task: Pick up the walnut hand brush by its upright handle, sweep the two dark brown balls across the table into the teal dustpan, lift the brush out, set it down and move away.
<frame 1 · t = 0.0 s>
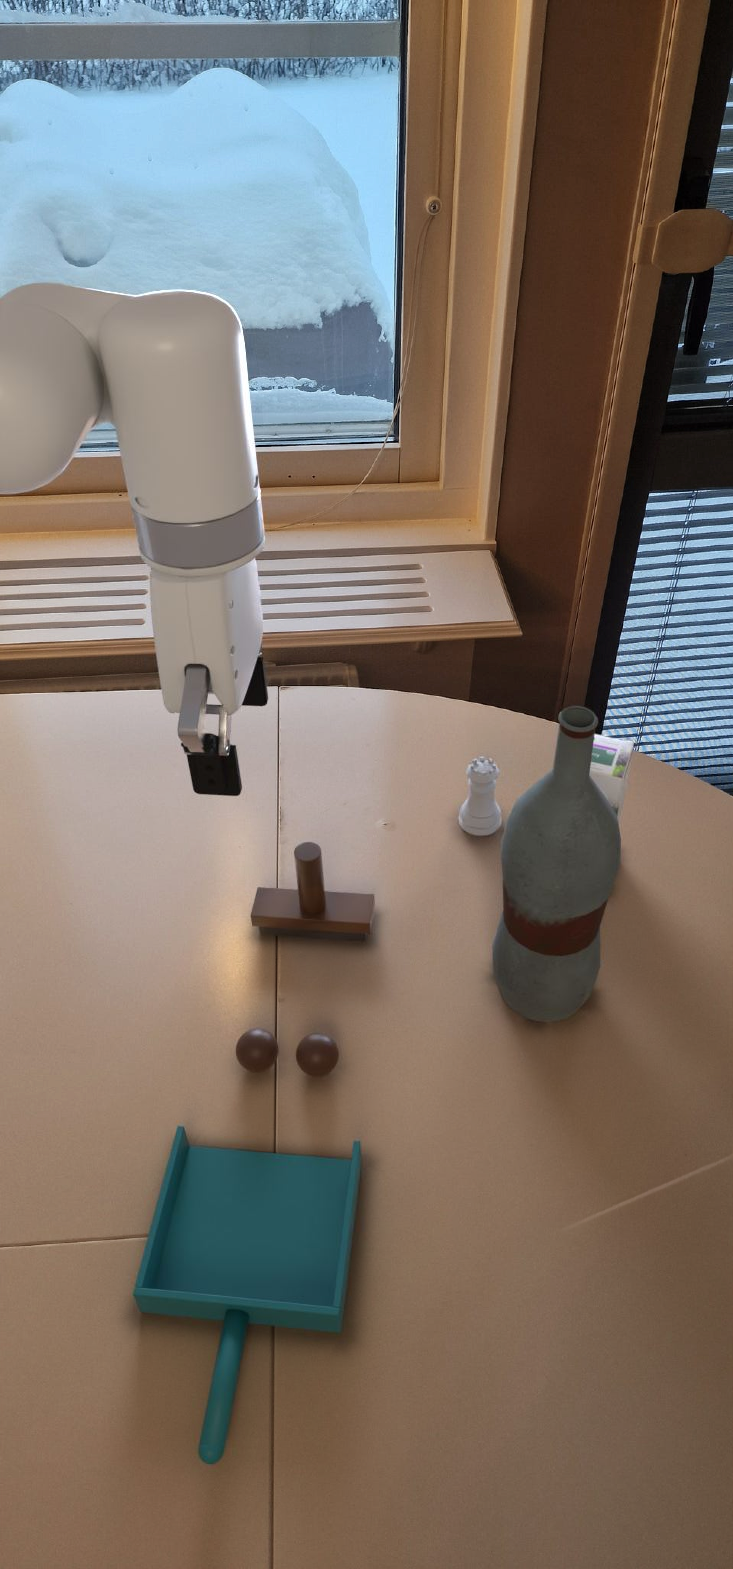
hand: (233, 745, 73), 28 cm above the table, tool pointing down, fingers open, 9 cm apart
bottle: (541, 985, 91), on the table
ball right: (317, 1054, 85), point 2 cm above the table
dustpan: (257, 1229, 76), on the table
syrup box: (580, 865, 102), on the table
ball left: (257, 1049, 85), point 2 cm above the table
rook chess piece: (479, 824, 107), on the table
brush: (314, 925, 97), on the table
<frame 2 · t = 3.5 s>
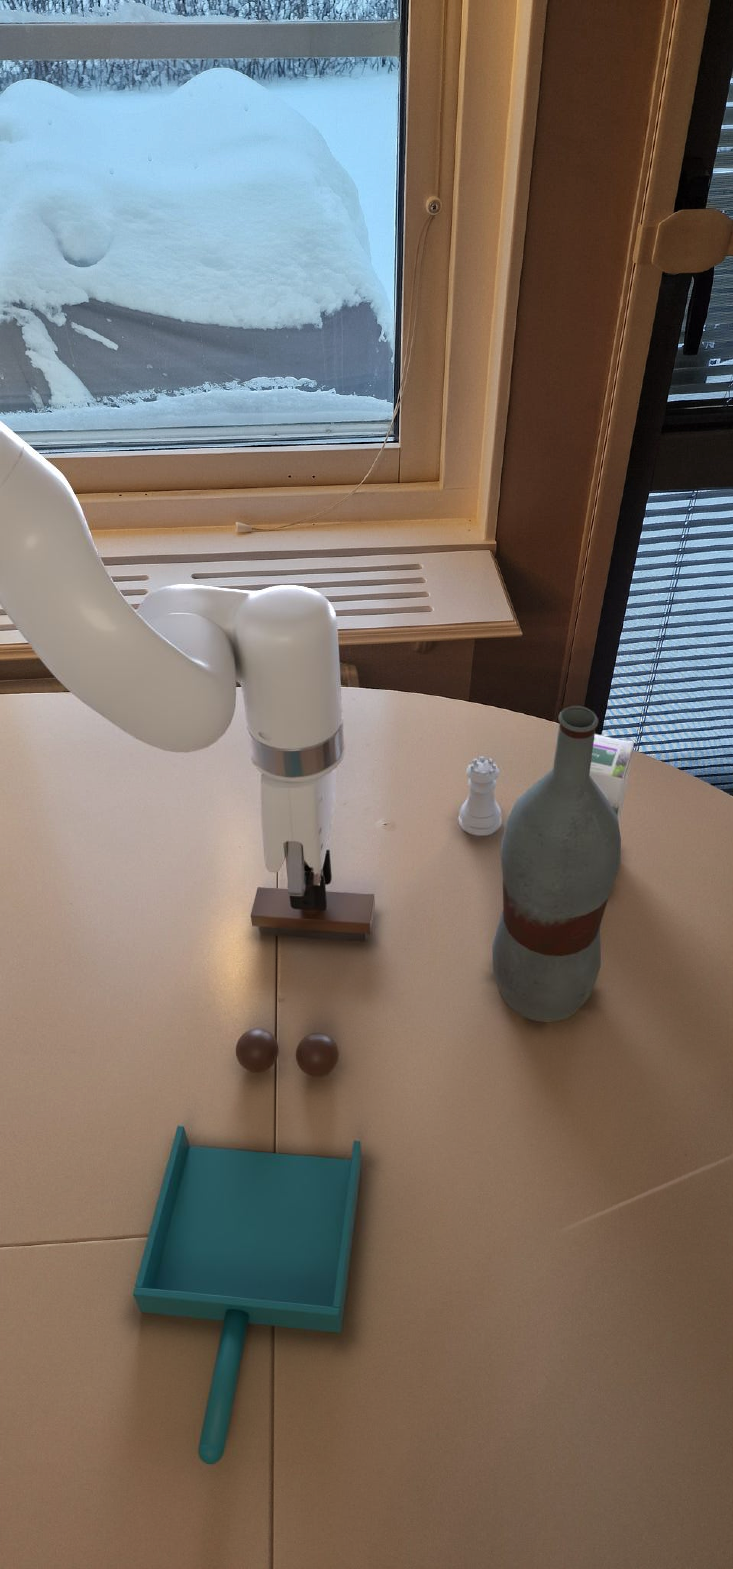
hand: (311, 893, 94), 5 cm above the table, tool pointing down, fingers closed on brush, 2 cm apart
brush: (314, 925, 97), on the table, touching gripper
everything else where it was.
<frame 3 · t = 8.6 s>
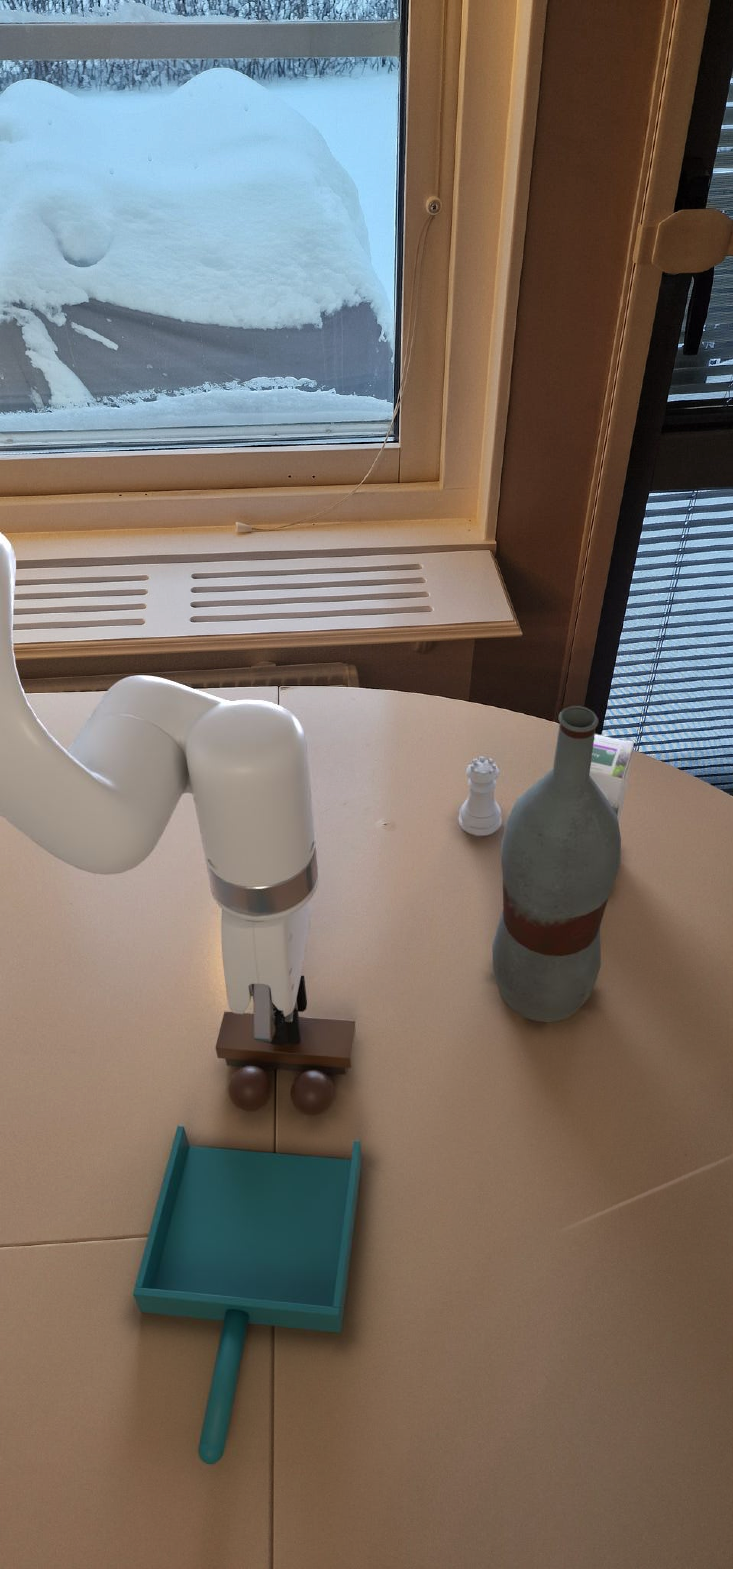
hand: (284, 1022, 83), 5 cm above the table, tool pointing down, fingers closed on brush, 2 cm apart
ball right: (312, 1092, 82), point 2 cm above the table, tilted 115°
ball left: (250, 1088, 82), point 2 cm above the table, tilted 116°
brush: (288, 1054, 86), on the table, touching gripper
everything else where it was.
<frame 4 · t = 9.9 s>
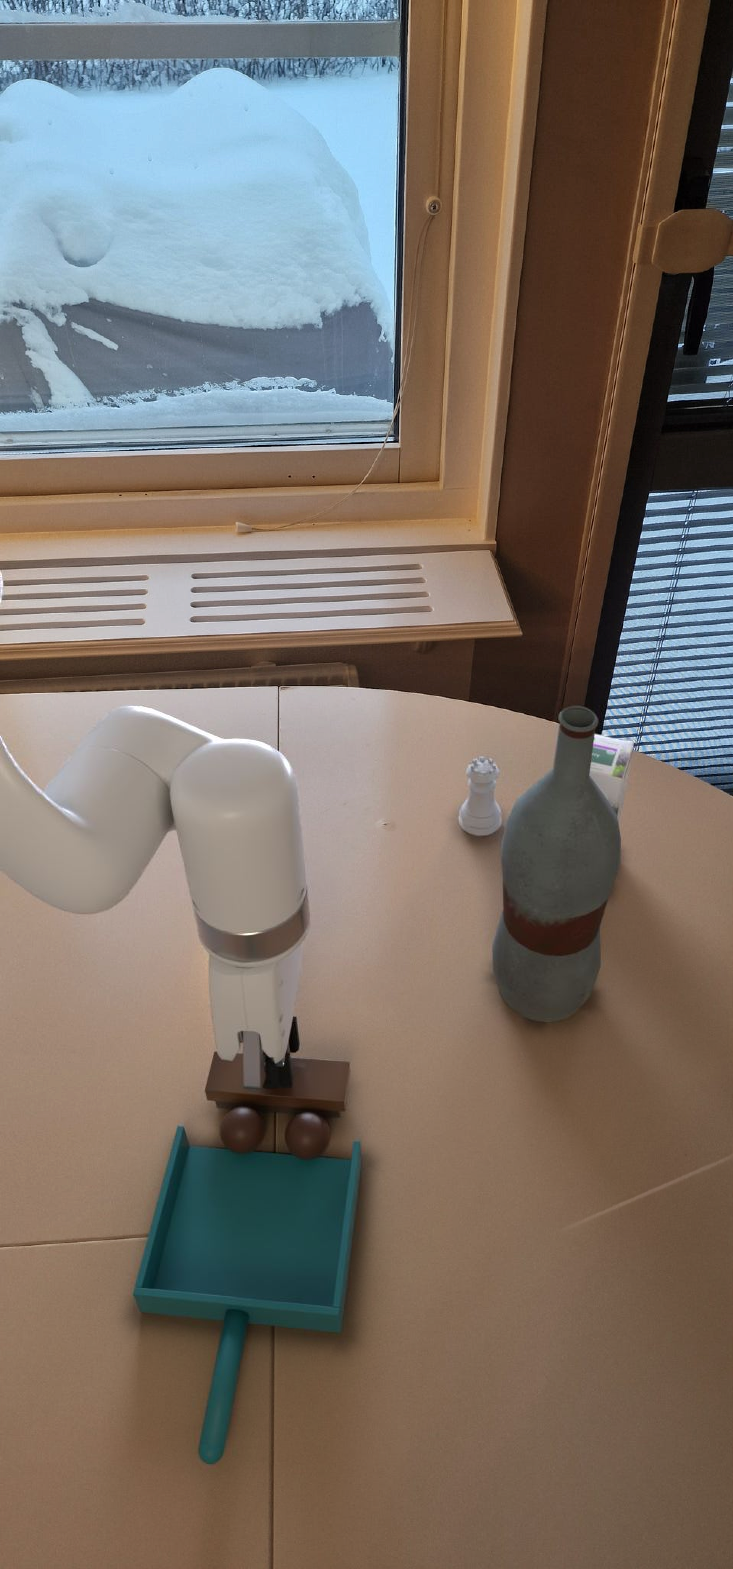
hand: (276, 1064, 80), 5 cm above the table, tool pointing down, fingers closed on brush, 2 cm apart
ball right: (307, 1135, 79), point 2 cm above the table, tilted 124°
ball left: (242, 1129, 80), point 2 cm above the table, tilted 124°
brush: (281, 1096, 83), on the table, touching gripper
everything else where it was.
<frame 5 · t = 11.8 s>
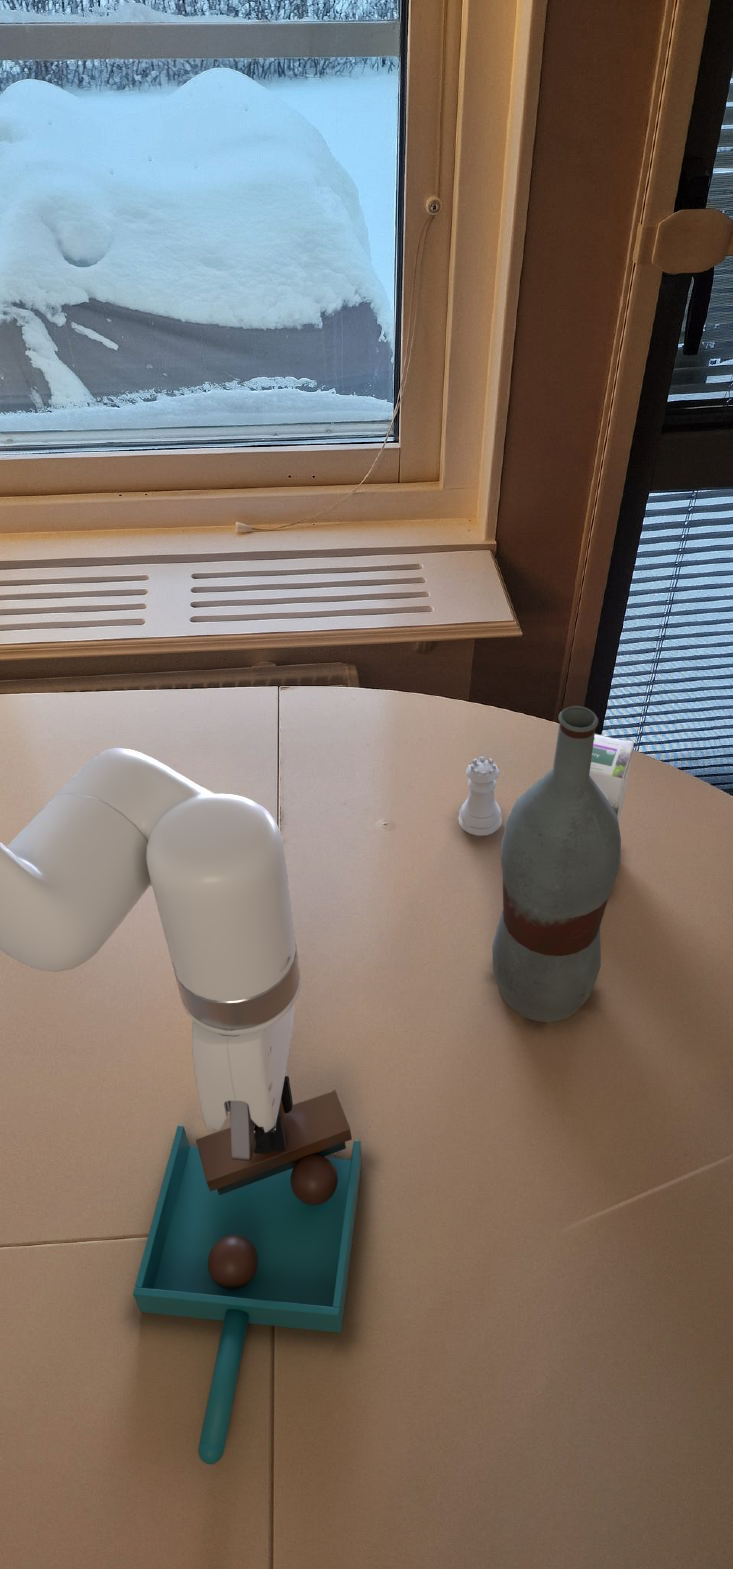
hand: (267, 1125, 76), 5 cm above the table, tool pointing down, fingers closed on brush, 2 cm apart
ball right: (314, 1179, 76), point 2 cm above the table, tilted 71°, touching brush, dustpan
ball left: (232, 1261, 72), point 2 cm above the table, tilted 156°, touching dustpan
brush: (278, 1154, 79), point 1 cm above the table, touching ball right, gripper
everything else where it was.
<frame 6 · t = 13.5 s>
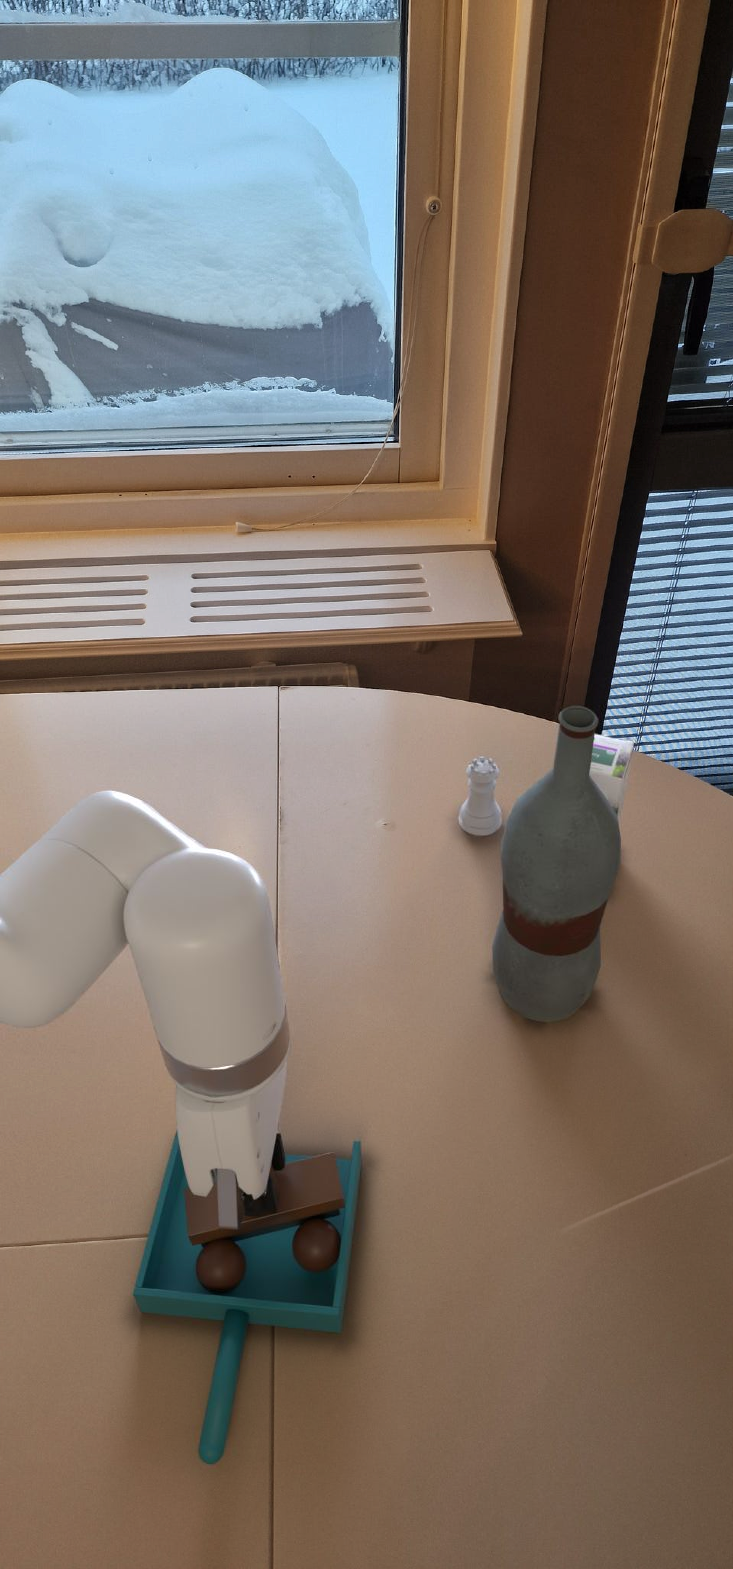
hand: (259, 1184, 72), 6 cm above the table, tool pointing down, fingers closed on brush, 2 cm apart
ball right: (316, 1244, 73), point 2 cm above the table, touching dustpan
ball left: (221, 1265, 72), point 2 cm above the table, tilted 142°, touching brush, dustpan
brush: (269, 1212, 75), point 1 cm above the table, touching ball left, gripper
everything else where it was.
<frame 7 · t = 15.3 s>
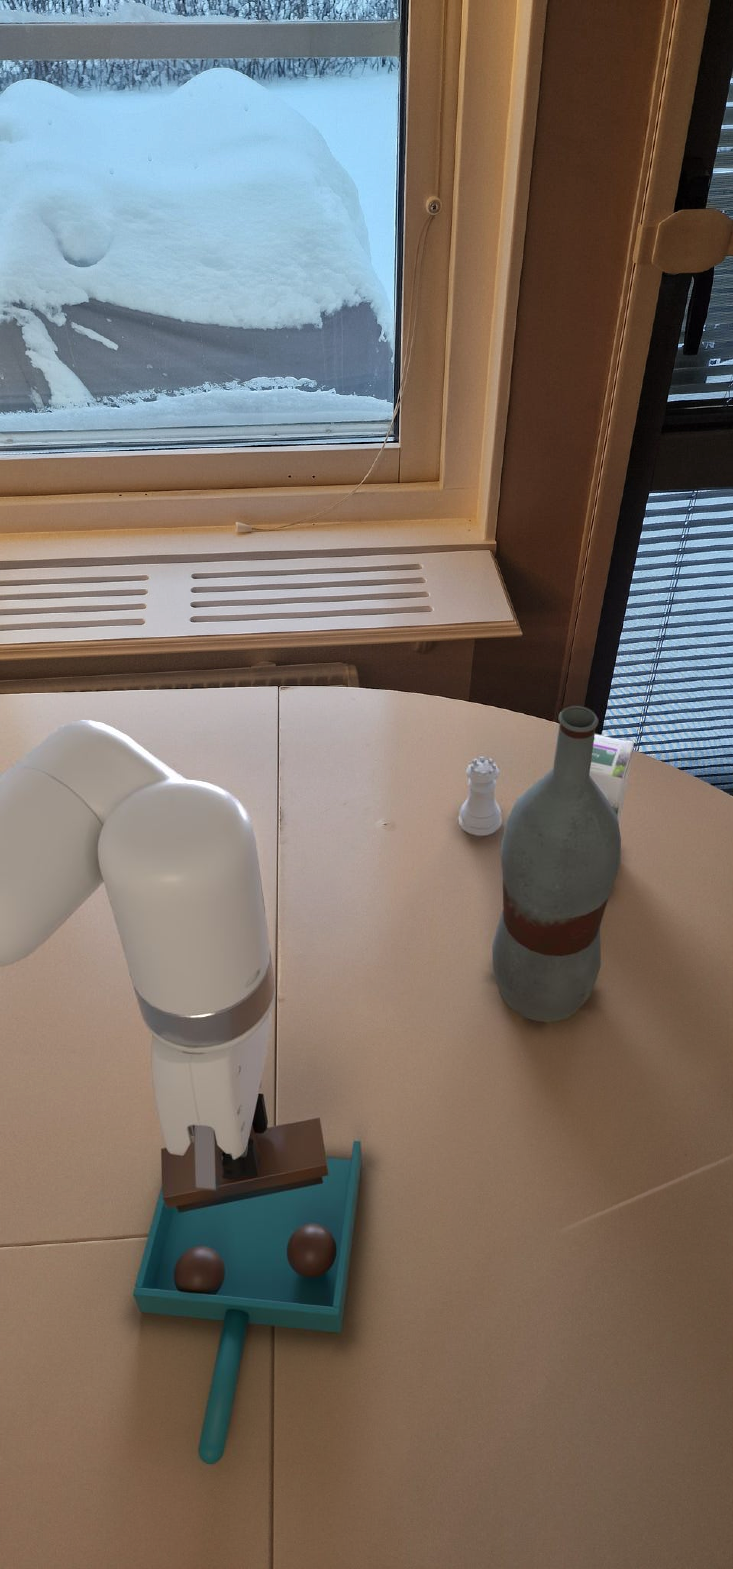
hand: (239, 1147, 69), 11 cm above the table, tool pointing down, fingers closed on brush, 2 cm apart
ball right: (311, 1250, 73), point 2 cm above the table, tilted 22°, touching dustpan
ball left: (199, 1273, 72), point 2 cm above the table, tilted 97°, touching dustpan
brush: (249, 1177, 72), point 7 cm above the table, touching gripper
everything else where it was.
when the fingers open (4 cm above the table, at t = 20.2 s): brush stays where it is, on the table.
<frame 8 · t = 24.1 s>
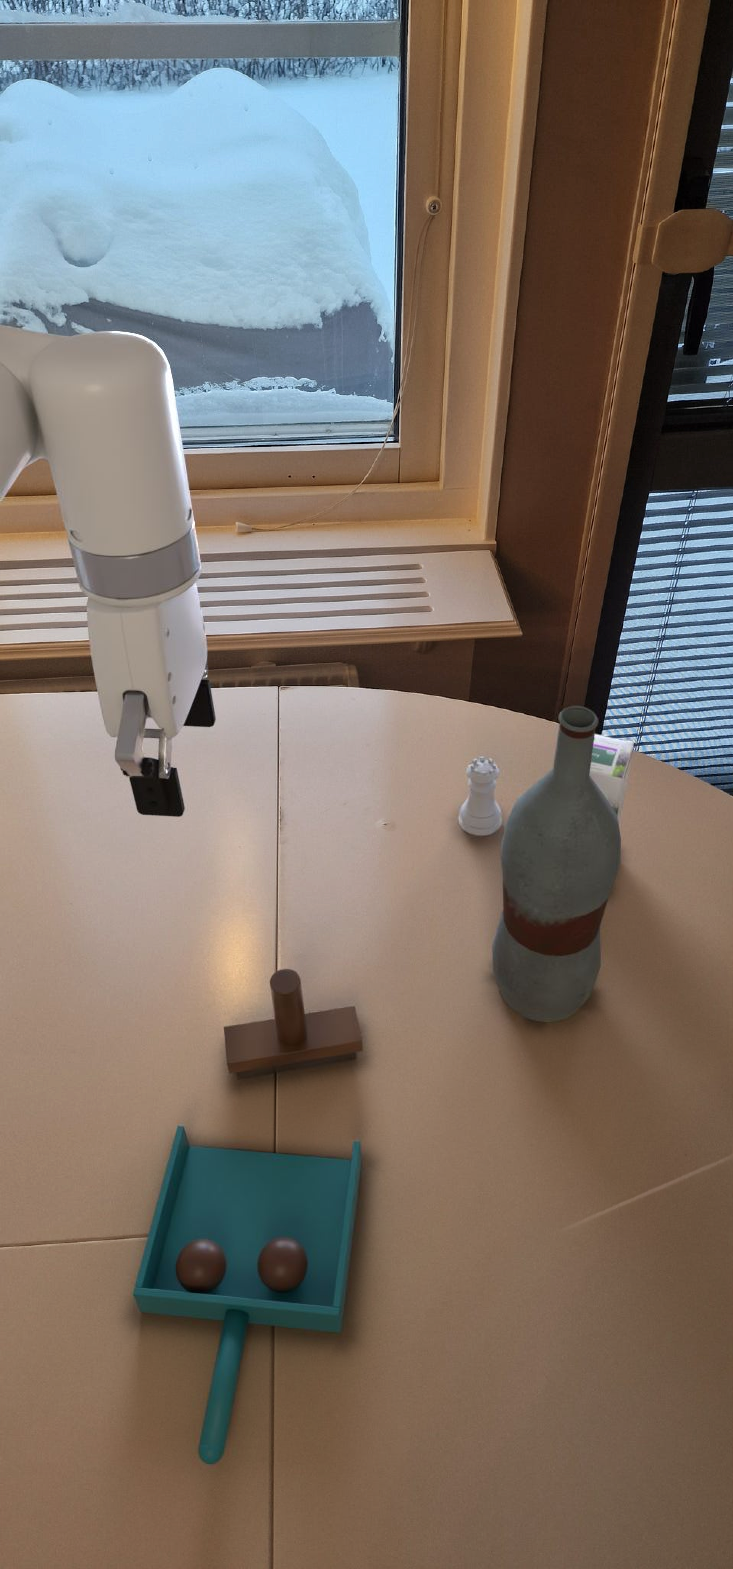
hand: (179, 766, 74), 26 cm above the table, tool pointing down, fingers open, 9 cm apart
ball right: (282, 1264, 72), point 2 cm above the table, tilted 92°, touching dustpan
ball left: (201, 1266, 72), point 2 cm above the table, tilted 108°, touching dustpan
brush: (295, 1054, 87), on the table
everything else where it was.
at the end: ball left inside the target area in the dustpan (4.6 cm from its centre), point 1.9 cm above the dustpan's base; ball right inside the target area in the dustpan (3.8 cm from its centre), point 1.9 cm above the dustpan's base; the gripper is holding nothing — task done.
